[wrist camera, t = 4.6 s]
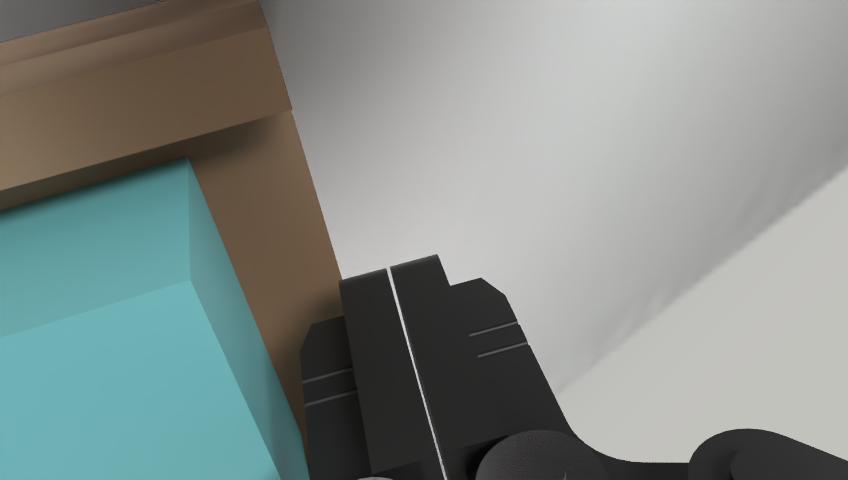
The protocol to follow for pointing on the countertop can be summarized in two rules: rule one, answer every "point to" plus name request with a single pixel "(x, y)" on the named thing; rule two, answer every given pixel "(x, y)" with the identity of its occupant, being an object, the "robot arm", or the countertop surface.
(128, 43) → the beam
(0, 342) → the teal block
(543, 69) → the countertop surface
